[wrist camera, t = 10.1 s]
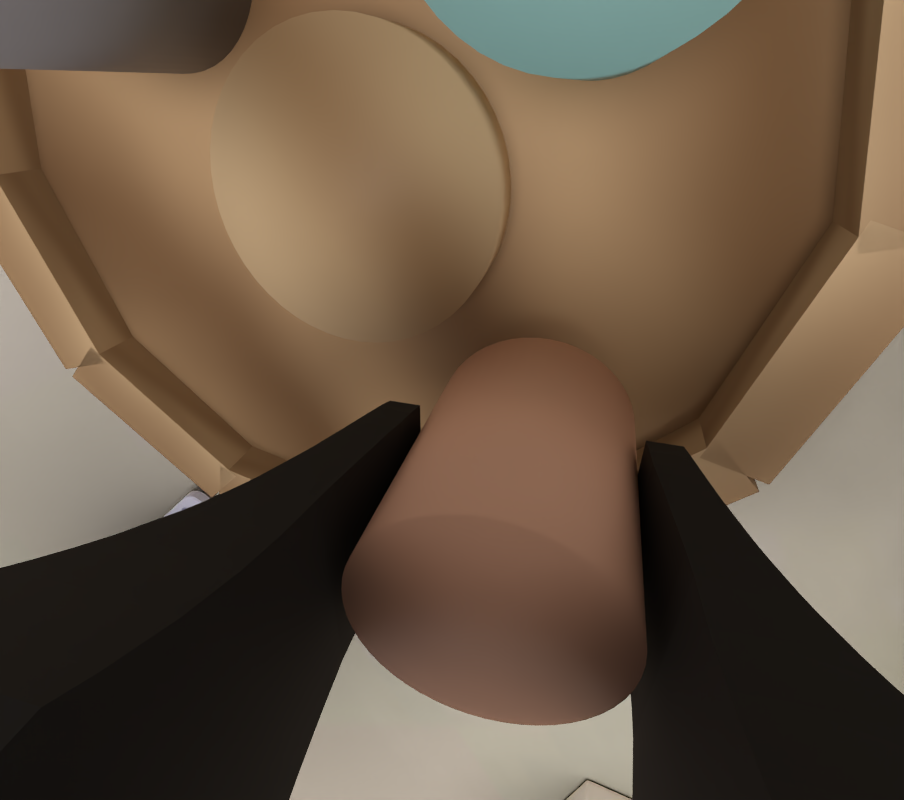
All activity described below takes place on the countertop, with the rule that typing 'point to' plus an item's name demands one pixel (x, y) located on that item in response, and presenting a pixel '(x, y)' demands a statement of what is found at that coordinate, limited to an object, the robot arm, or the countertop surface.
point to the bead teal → (578, 32)
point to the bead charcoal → (119, 34)
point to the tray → (465, 227)
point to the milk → (595, 793)
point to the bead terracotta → (511, 543)
